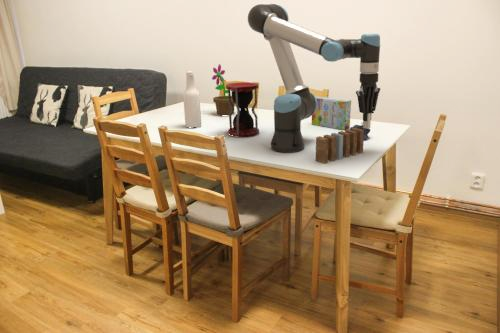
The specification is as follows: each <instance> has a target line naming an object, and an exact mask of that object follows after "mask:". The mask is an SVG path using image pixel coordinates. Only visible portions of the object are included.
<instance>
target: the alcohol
mask: <svg viewBox="0 0 500 333" xmlns="http://www.w3.org/2000/svg"><path fill="white" fill-rule="evenodd" d="M185 76H186V80H185V81H186V82H185V83H186V84H185V86H186V88H185V89H184V91H183V94H182V95H183V96H182V98H183V110H184V123H185V127H186V128H187V127H191V128H190V129H193V128H192V127H199V128H201V127H200V126H202V111H201V110H202V109H201V99H200V98H201V97H200V95H201V94H200V92H199V90H197V89H198V88H196V84H195V77H194V76H195V75H194V71H193V70H187V71H186V72H185Z"/></svg>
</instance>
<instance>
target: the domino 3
mask: <svg viewBox="0 0 500 333" xmlns="http://www.w3.org/2000/svg"><path fill="white" fill-rule="evenodd" d="M330 135H331V136H335V137H336V150H335V160H336V159H337V160H342V159H343V135H341V134H338V132H331V133H330Z"/></svg>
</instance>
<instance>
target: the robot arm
mask: <svg viewBox="0 0 500 333" xmlns="http://www.w3.org/2000/svg"><path fill="white" fill-rule="evenodd" d="M247 24H248V26H249V27H250V28H251V30H253V31H254V32H256V33H258V34H261V35H263V38H264V40H266V41H268V43H269V45H270V48H271V50H272V54H273V57H274V59H275V62H276V65H277V68H278V71H279V73H280V77H281V80H282V83H283V85H284V88H285V93H284V94H280V95H278V96H277V97H275V98H274V102H273V114H274V115H273V116H274V118H273V119H274V120H273V121H274V122H273V123H274V125H273V126H274V128H273V129H274V131H273V134H272V138H271V141H270V149H271V150H272V151H274V152H279V153H295V152H296V153H297V152H300V151H303V150H304V149H305V141H304V138H303V134H302V132H301V131H302V130H301V128H302V127H301V126H302V125H301V123H302V121H303V120H306V119H309V118H310V117H312V115H313V114H314V113H315V111H316V109H317V105H318V103H317V99H316V97H317V96H315V95H314V94H313V93H312V92H311V91H310V88H309V86H307V85H306V84H304V81H303V79H302V76H301V75H302V74H301V72H300V69H299V67H298V64H297V61H296V58H295V55H294V52H293V48H292V47H291V46H292V45H295V46H296V47H297V46H298V47H300V48H302V49H304V50H307V51H309V52H311V53H314V54H316V55H319V56H321V57H322V58H323V60H325V61H326V62H332V63H333V62H337V61H340V60H344V59H360V61H359V72H360V73H359V83H360V87H359V90H356V91H355V94H356V95H357V96H356V97H357V102H358V111H359V113H361V114H362V124H363V128H366V129H370V130H371V124H372V123H371V121H372V114H374V113H375V111H376V110H377V109H376V108H377V104H378V99H379V94H380V91H381V87H378V86H377V83H378V82H379V73H378V72H379V67H380V65H379V64H380V50H381V49H380V48H381V35H380V34H378V33H364V34H361V36H360V38H358V39H357V38H356V39H353V38H352V39H350V38H349V39H348V38H347V39H346V38H345V39H344V38H340V39H332V38H330V37H328V36H326V35H323V34H320V33H318V32H315V31H313V30H310V29H308V28H305V27H303V26H301V25H298V24H295V23H292V22H291V21H289V15H288V12H287V10H286V9H285V8H284V7H283V6H282V5H279V4H275V3H269V4H263V3H262V4H257V5H254V6H253V7H252V8H251V9H250V10H249V11H248V14H247ZM291 44H292V45H291Z"/></svg>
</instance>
